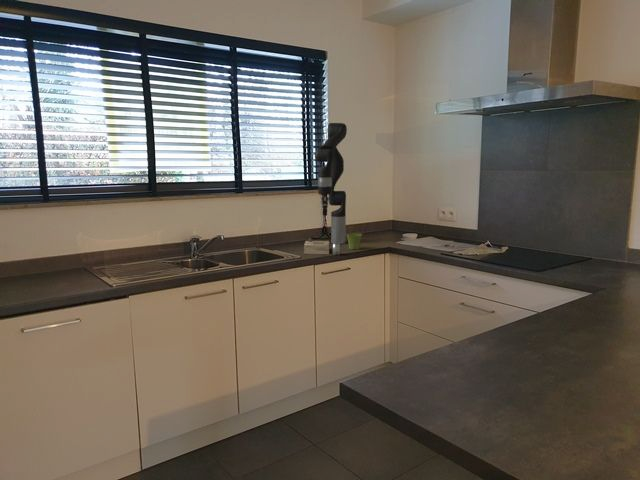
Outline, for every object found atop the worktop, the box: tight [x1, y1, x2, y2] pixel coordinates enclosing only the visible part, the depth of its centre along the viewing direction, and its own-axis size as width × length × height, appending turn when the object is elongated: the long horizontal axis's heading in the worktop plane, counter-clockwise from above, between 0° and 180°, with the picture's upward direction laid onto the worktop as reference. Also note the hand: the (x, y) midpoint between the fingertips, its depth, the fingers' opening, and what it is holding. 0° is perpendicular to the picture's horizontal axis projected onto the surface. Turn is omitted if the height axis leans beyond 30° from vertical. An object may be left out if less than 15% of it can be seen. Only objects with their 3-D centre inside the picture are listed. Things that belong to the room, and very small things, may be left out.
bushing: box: [332, 243, 341, 256], centre depth 262 cm, size 4×4×6 cm
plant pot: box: [346, 233, 363, 250], centre depth 278 cm, size 9×9×9 cm
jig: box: [303, 237, 330, 255], centre depth 271 cm, size 16×14×7 cm
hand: (325, 214), depth 262 cm, fingers open, 8 cm apart
